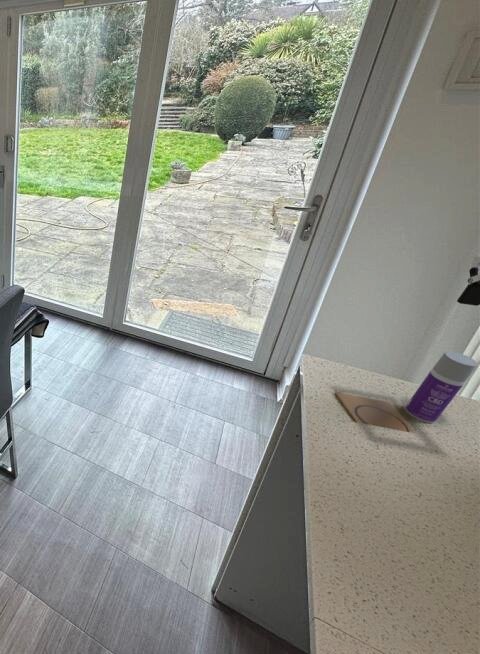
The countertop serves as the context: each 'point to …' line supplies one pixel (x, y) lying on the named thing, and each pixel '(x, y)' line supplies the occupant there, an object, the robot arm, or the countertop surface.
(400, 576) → the countertop surface
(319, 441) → the countertop surface
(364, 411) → the coaster
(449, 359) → the container
